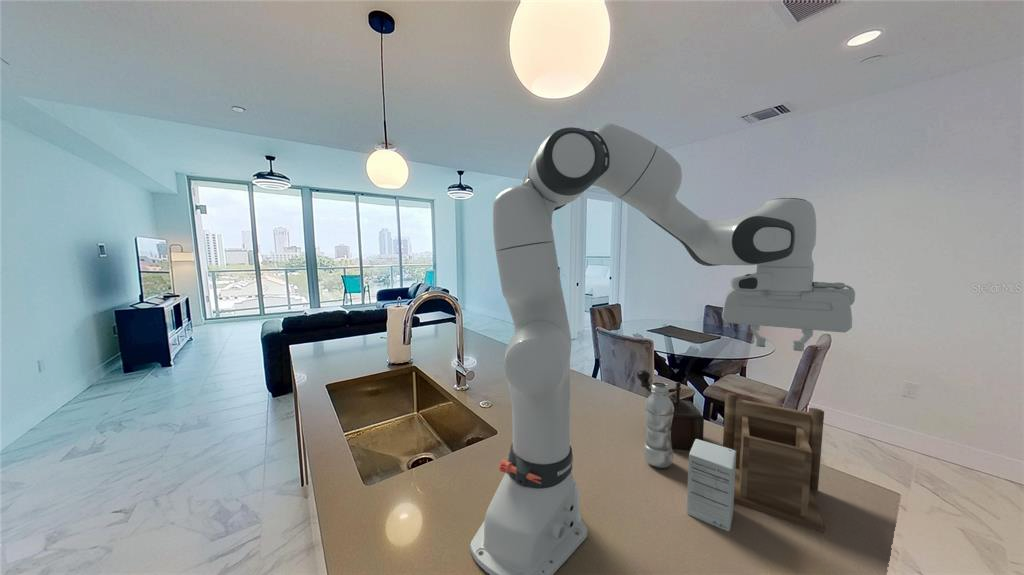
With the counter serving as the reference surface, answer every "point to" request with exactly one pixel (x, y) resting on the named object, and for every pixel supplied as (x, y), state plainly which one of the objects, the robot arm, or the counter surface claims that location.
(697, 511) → the supplement box
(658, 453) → the plastic bottle
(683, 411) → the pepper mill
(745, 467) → the caddy
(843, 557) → the counter surface
